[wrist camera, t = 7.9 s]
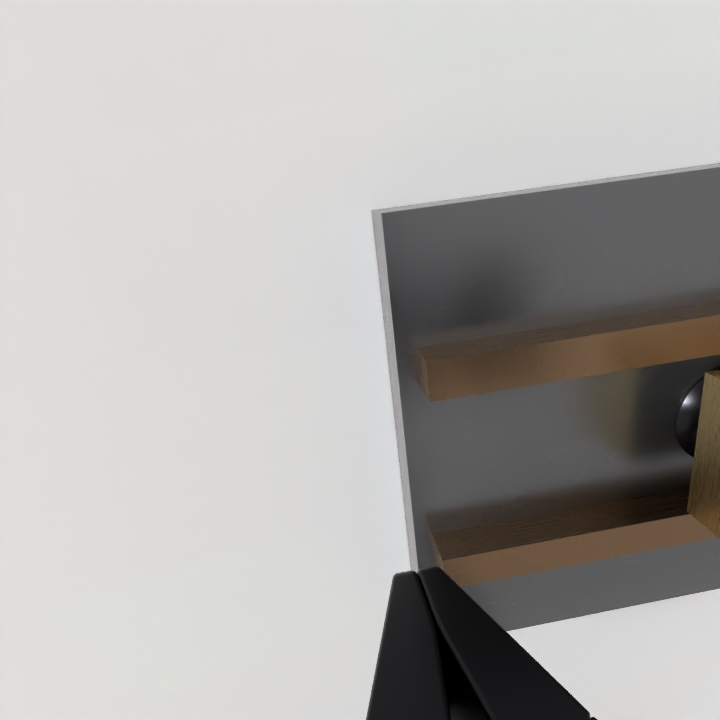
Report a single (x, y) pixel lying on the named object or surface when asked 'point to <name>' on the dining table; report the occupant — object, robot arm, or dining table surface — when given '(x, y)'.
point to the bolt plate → (555, 388)
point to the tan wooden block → (707, 458)
